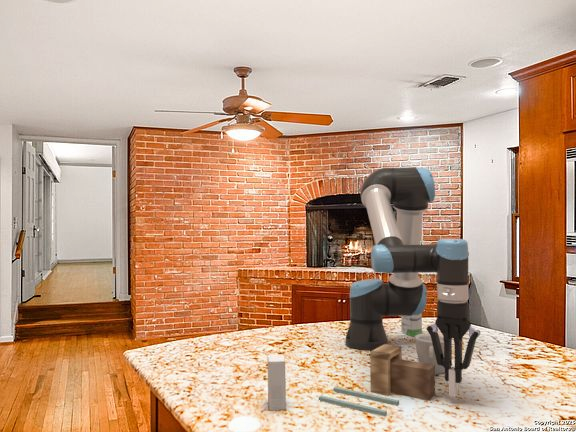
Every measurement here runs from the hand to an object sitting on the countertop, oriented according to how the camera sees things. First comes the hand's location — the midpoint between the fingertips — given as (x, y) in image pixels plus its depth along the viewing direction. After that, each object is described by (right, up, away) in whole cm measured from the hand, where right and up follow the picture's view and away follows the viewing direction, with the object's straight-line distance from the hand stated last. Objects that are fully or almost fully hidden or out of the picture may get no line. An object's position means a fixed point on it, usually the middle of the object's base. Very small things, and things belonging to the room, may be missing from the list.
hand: (453, 394), depth 123 cm
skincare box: (-44, -3, -1) cm, 44 cm away
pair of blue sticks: (-24, -2, 0) cm, 24 cm away
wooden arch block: (-15, -2, +10) cm, 18 cm away
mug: (+2, -2, +23) cm, 23 cm away
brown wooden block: (-11, -2, +8) cm, 14 cm away
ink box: (+7, -2, +70) cm, 71 cm away
